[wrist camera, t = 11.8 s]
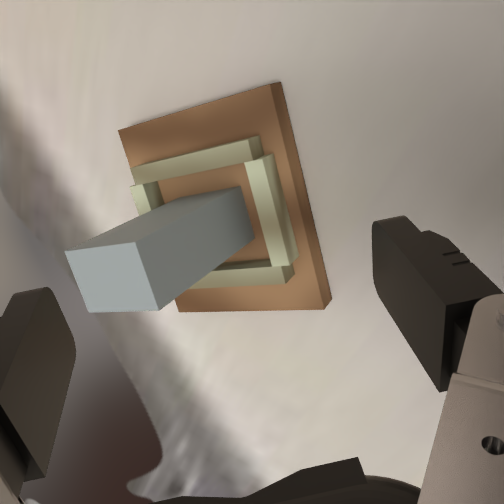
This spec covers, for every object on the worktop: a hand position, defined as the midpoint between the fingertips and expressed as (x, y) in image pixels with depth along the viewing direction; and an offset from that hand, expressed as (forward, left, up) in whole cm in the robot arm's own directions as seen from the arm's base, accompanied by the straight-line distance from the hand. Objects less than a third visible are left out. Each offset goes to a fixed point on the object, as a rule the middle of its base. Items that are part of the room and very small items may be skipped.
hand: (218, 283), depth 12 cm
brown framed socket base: (+2, -11, -18) cm, 21 cm away
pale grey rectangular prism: (+2, -11, -16) cm, 20 cm away
